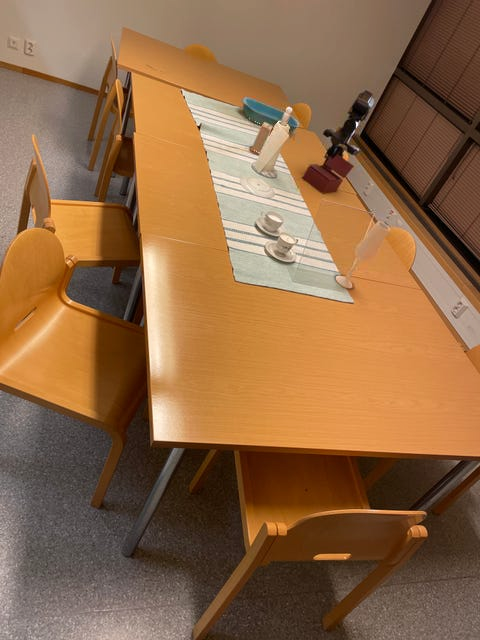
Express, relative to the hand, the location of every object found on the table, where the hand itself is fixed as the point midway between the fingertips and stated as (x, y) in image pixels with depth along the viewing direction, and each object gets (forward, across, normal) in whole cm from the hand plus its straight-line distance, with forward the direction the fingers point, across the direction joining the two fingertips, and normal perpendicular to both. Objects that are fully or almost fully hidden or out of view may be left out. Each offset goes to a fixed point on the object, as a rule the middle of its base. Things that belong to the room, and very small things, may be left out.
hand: (331, 158), depth 230 cm
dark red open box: (+13, +3, -3) cm, 13 cm away
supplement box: (+13, -28, -20) cm, 37 cm away
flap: (+2, +3, +6) cm, 7 cm away
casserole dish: (+14, -58, +26) cm, 65 cm away
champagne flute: (+12, +57, -70) cm, 91 cm away
